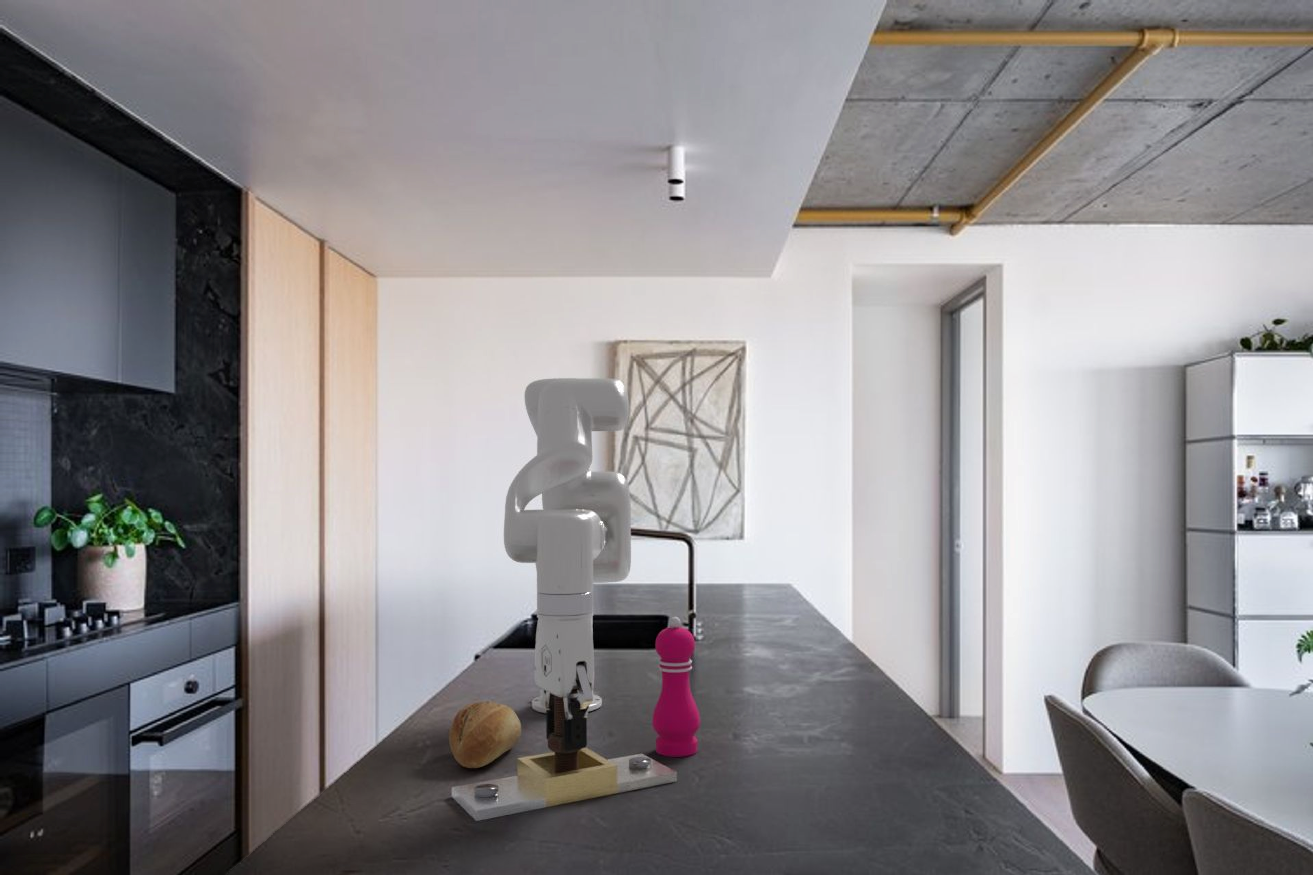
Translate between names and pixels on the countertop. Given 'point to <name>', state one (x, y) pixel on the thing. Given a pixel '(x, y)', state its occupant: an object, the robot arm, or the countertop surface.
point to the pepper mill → (675, 694)
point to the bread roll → (483, 733)
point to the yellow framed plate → (559, 783)
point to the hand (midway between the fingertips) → (566, 742)
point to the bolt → (555, 740)
